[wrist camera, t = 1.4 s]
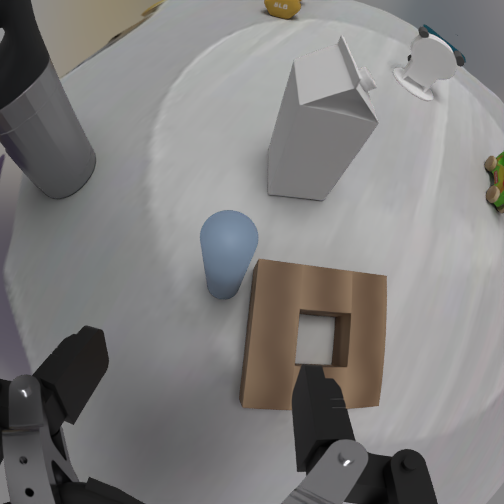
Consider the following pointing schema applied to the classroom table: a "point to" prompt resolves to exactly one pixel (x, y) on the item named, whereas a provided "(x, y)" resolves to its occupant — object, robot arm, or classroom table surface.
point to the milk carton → (320, 123)
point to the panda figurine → (427, 65)
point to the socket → (286, 330)
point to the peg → (227, 251)
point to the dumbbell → (283, 8)
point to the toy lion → (496, 181)
